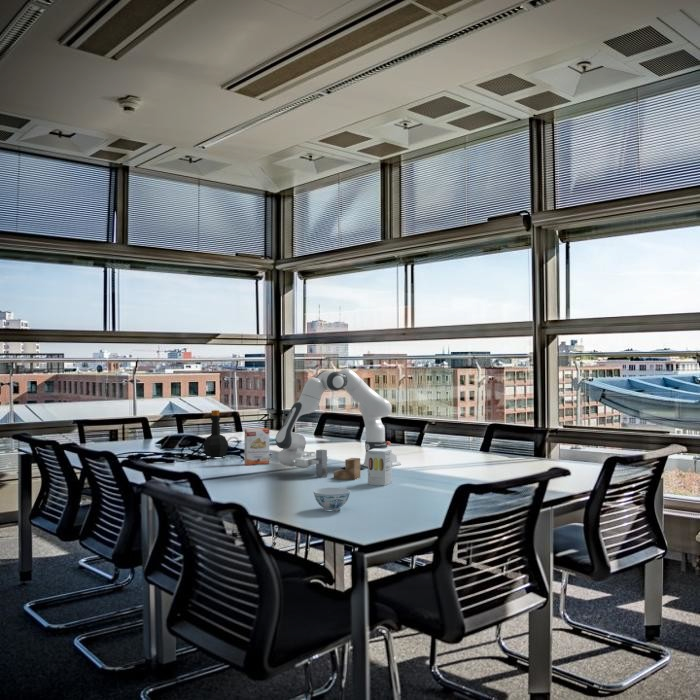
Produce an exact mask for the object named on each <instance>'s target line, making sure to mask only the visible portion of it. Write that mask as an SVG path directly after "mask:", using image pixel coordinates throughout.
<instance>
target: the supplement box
mask: <svg viewBox="0 0 700 700" xmlns="http://www.w3.org/2000/svg"><path fill="white" fill-rule="evenodd" d="M392 451H393V450H392V449H390V448H389V449H376V448H375V449H371V450H368V467H367V485H368V484H372V485H371V486H380V485H384V486H383V487H386V486H388V485H390V484H392V483H393V475H392V469H393V466H392ZM385 485H386V486H385Z"/></svg>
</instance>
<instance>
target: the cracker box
mask: <svg viewBox="0 0 700 700" xmlns="http://www.w3.org/2000/svg"><path fill="white" fill-rule="evenodd" d="M253 464H260V465H270V428H246V429H244V465H246V466H254V465H253Z"/></svg>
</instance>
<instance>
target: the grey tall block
mask: <svg viewBox="0 0 700 700" xmlns="http://www.w3.org/2000/svg"><path fill="white" fill-rule="evenodd" d="M315 453H316V460H320V464H315V469H316V470H315V473H316V474H315V475H316V476H315V477H316V478H320V477H323V478H327V477H328V461H327V457H328V450H327V449H316V450H315Z"/></svg>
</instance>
